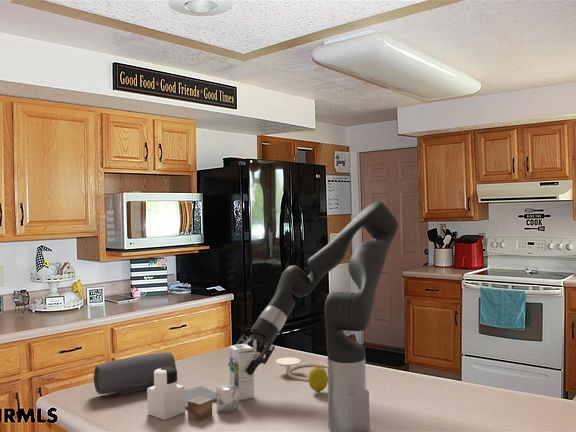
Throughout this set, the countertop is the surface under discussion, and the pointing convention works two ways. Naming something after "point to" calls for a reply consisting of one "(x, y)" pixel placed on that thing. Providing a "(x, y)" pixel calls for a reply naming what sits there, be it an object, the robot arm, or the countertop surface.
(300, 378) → the hand towel holder
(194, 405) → the walnut block
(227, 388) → the brushed tin
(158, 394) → the medicine bottle
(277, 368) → the countertop surface
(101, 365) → the bluetooth speaker
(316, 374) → the lemon
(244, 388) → the syrup box
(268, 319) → the robot arm
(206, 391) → the plate
